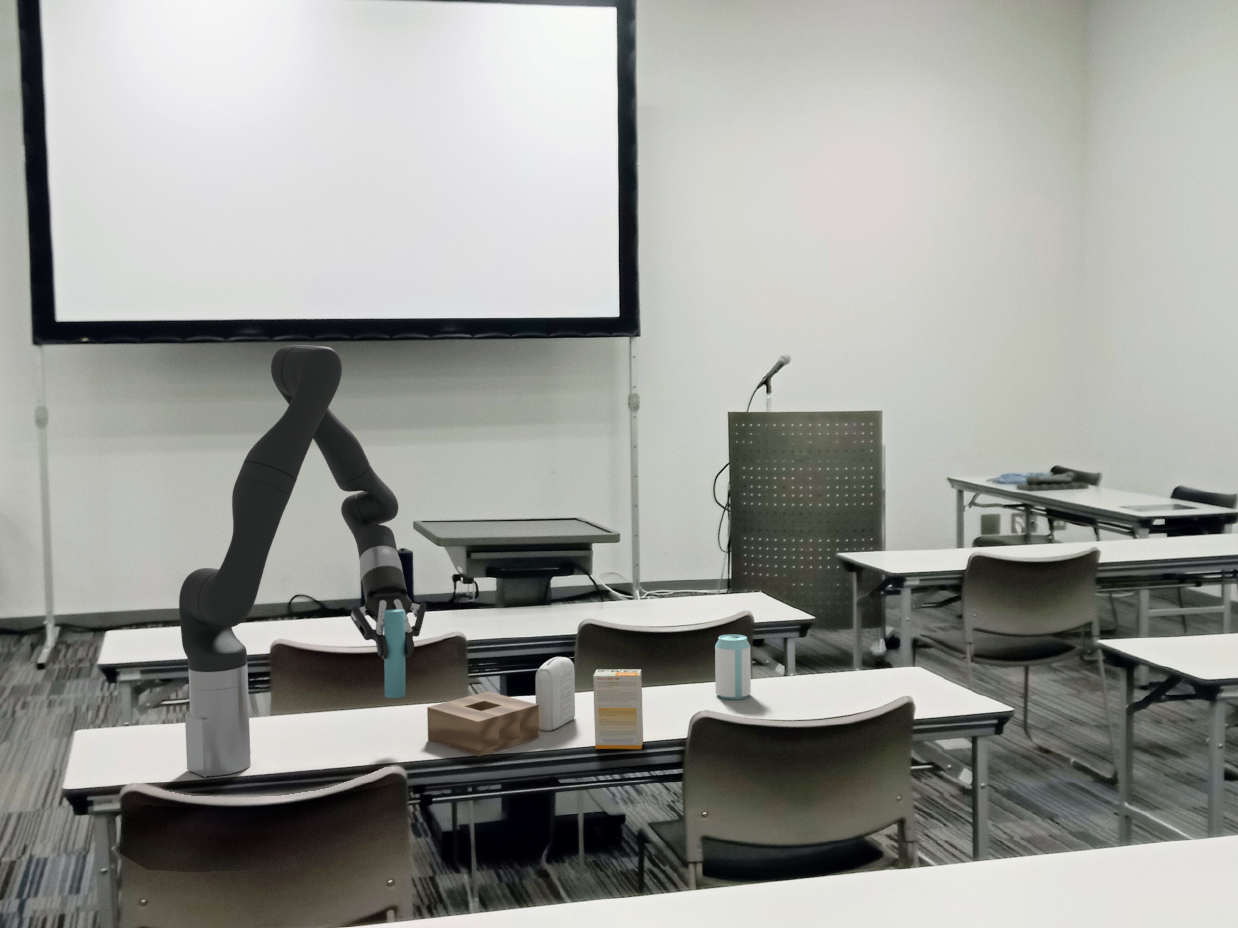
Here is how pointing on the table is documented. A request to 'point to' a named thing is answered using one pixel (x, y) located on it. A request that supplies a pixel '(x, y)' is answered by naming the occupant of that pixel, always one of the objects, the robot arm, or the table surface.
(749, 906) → the table surface
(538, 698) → the photo printer
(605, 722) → the supplement box
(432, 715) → the socket block
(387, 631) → the pin
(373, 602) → the robot arm
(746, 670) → the can
